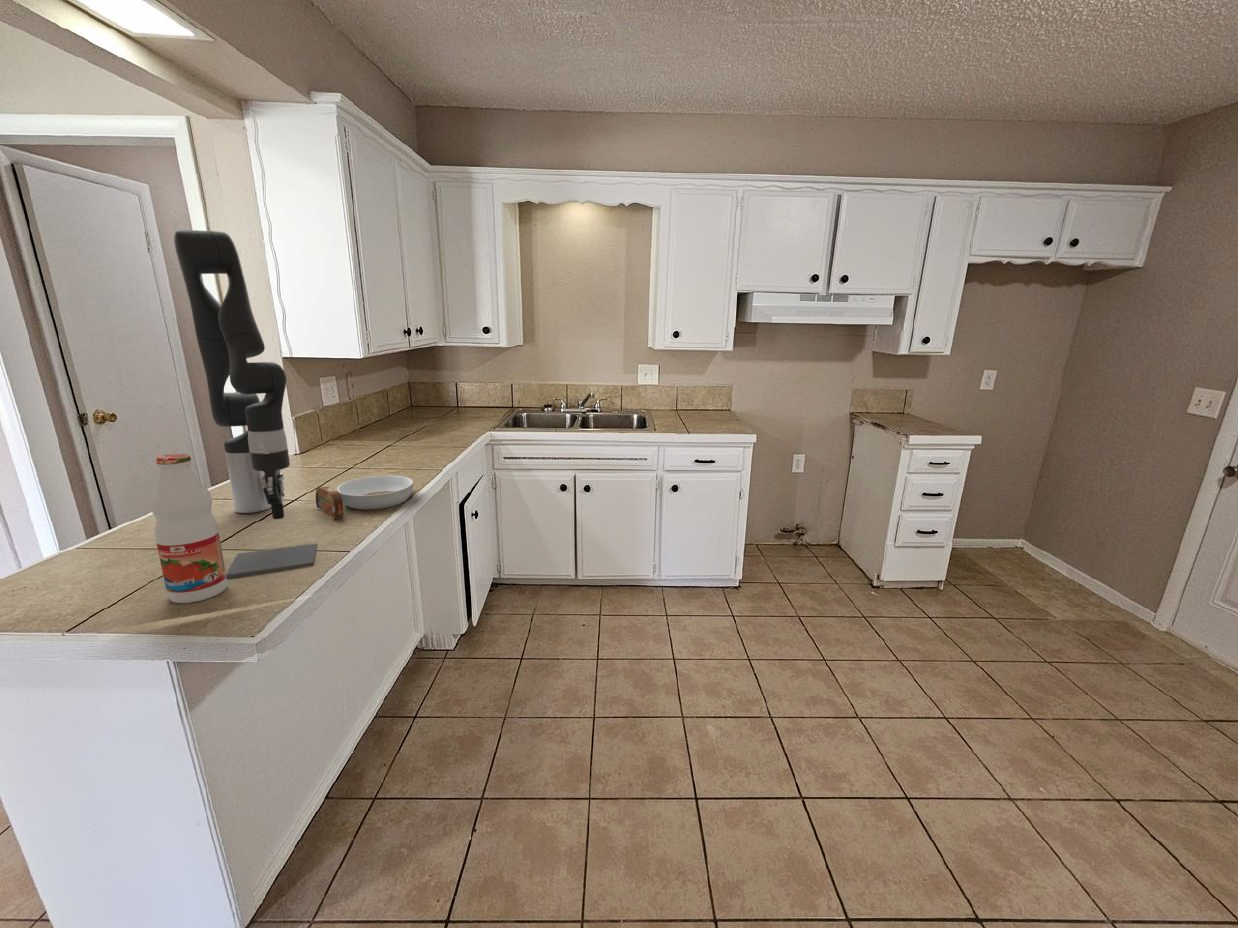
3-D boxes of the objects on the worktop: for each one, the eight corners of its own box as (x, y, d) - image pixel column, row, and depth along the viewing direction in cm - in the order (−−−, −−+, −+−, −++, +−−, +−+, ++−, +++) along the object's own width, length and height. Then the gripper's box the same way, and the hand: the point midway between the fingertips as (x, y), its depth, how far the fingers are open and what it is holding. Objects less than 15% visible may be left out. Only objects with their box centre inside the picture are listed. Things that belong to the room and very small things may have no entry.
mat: (238, 556, 120) (237, 553, 120) (317, 546, 127) (317, 543, 127) (226, 578, 110) (225, 574, 109) (313, 565, 116) (313, 562, 116)
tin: (316, 512, 151) (312, 484, 149) (328, 510, 153) (324, 482, 151) (335, 525, 141) (331, 496, 139) (347, 522, 143) (344, 493, 141)
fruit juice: (237, 580, 109) (215, 450, 102) (212, 602, 100) (186, 461, 93) (186, 583, 107) (160, 451, 100) (156, 606, 98) (125, 462, 91)
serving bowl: (322, 513, 150) (319, 490, 149) (373, 493, 170) (371, 472, 168) (383, 521, 145) (381, 497, 143) (428, 499, 165) (427, 478, 163)
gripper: (254, 444, 127) (264, 512, 131) (244, 455, 115) (255, 529, 119) (290, 442, 130) (299, 508, 134) (283, 452, 118) (293, 524, 122)
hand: (278, 518), depth 127 cm, fingers closed
